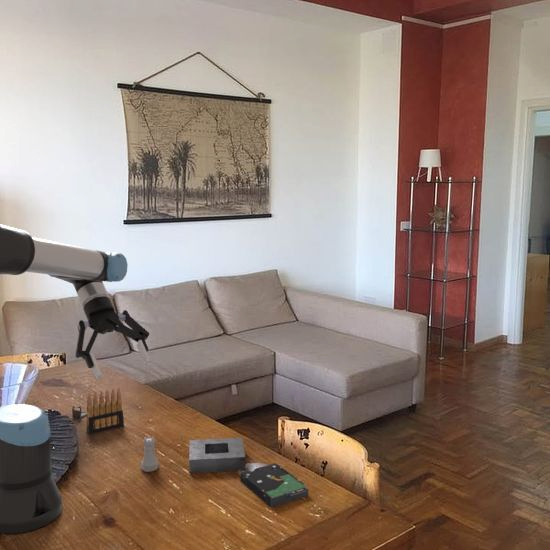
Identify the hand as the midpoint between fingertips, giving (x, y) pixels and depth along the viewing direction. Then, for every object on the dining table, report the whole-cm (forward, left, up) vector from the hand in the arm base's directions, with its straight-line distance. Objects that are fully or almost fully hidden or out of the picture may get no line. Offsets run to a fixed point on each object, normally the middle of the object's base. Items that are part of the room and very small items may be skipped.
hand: (124, 370), depth 157 cm
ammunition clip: (+17, +8, -23) cm, 30 cm away
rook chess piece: (-10, -7, -23) cm, 26 cm away
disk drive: (-24, -37, -24) cm, 50 cm away
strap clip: (+27, +18, -24) cm, 41 cm away
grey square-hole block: (-8, -24, -23) cm, 34 cm away
